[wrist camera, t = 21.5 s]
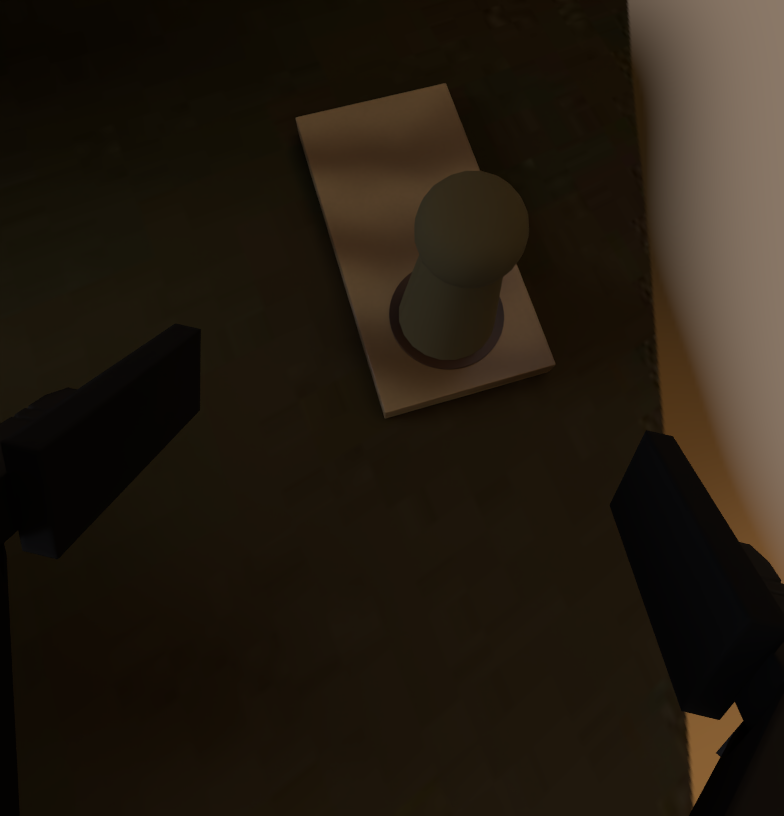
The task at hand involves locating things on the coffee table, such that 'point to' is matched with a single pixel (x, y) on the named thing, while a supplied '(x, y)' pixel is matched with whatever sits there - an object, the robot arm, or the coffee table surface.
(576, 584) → the coffee table surface
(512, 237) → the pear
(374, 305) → the beech board
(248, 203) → the coffee table surface
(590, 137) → the coffee table surface
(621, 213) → the coffee table surface
